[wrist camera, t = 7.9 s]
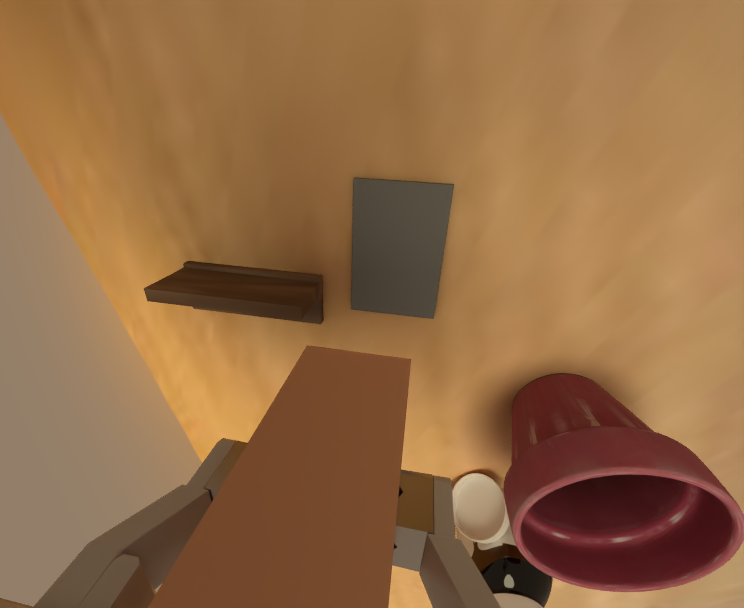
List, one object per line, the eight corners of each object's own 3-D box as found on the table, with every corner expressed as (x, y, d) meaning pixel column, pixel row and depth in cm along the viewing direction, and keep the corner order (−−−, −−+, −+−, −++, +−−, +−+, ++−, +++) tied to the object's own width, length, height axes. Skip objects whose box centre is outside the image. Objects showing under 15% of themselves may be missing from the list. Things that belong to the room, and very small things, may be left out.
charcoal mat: (355, 177, 27) (353, 178, 27) (453, 184, 26) (454, 185, 26) (352, 306, 33) (351, 309, 32) (433, 315, 32) (433, 318, 31)
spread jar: (494, 539, 46) (513, 656, 35) (423, 505, 45) (421, 614, 34) (555, 496, 40) (598, 620, 30) (475, 456, 39) (491, 569, 29)
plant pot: (659, 354, 30) (799, 486, 18) (616, 461, 36) (700, 608, 25) (494, 346, 32) (529, 459, 21) (480, 448, 38) (500, 577, 27)
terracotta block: (307, 345, 13) (97, 689, 5) (411, 359, 12) (373, 768, 4) (310, 421, 14) (163, 764, 6) (401, 436, 14) (362, 825, 6)
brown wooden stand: (188, 261, 33) (142, 284, 28) (322, 275, 32) (300, 302, 26) (198, 305, 36) (157, 334, 30) (323, 320, 34) (303, 353, 29)
